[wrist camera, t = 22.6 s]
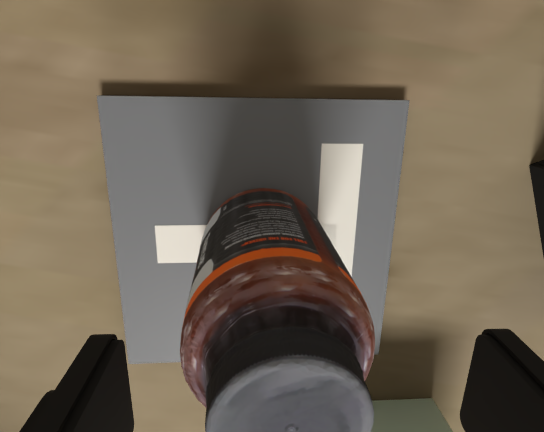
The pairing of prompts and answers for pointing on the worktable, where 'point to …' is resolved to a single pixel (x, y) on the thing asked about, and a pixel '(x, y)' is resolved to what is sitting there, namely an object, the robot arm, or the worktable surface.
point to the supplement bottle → (276, 323)
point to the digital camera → (539, 194)
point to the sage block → (408, 416)
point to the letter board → (241, 190)
